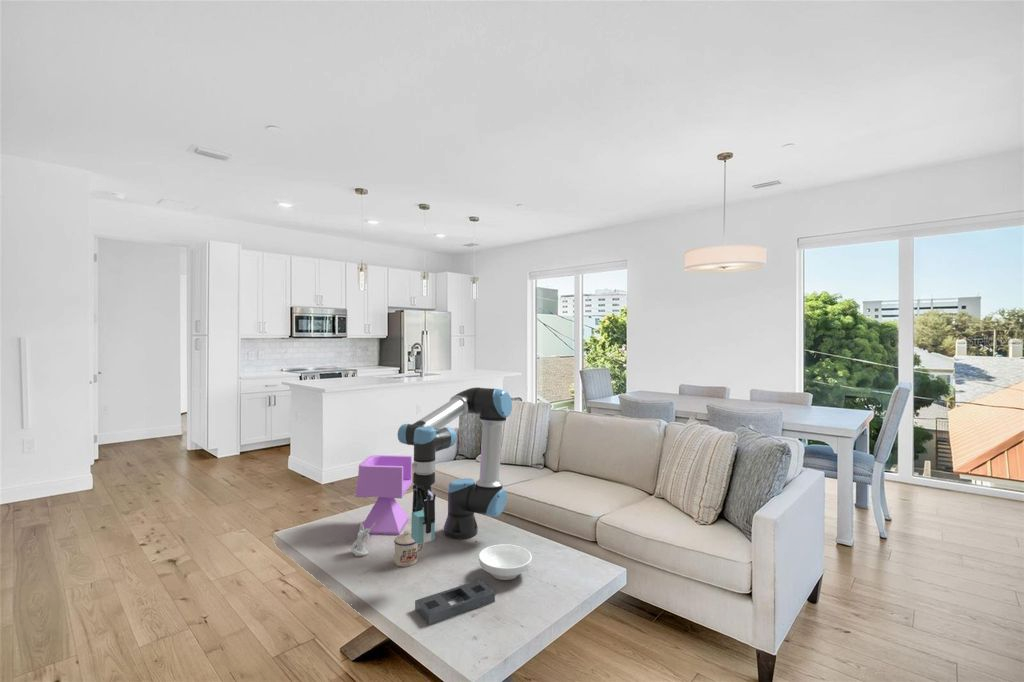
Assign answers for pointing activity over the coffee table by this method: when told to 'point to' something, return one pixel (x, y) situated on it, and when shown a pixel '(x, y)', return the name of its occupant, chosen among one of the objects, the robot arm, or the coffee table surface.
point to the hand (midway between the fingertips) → (422, 537)
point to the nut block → (419, 527)
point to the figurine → (361, 541)
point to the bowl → (505, 560)
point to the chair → (385, 491)
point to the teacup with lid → (406, 550)
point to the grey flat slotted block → (440, 609)
